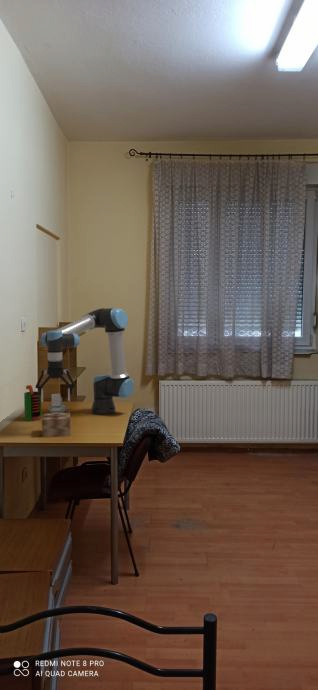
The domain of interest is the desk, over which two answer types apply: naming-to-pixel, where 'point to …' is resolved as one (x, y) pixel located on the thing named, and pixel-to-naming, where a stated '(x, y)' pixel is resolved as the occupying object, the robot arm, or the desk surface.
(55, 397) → the column
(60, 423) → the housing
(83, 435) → the desk surface
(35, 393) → the motor
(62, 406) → the air freshener
